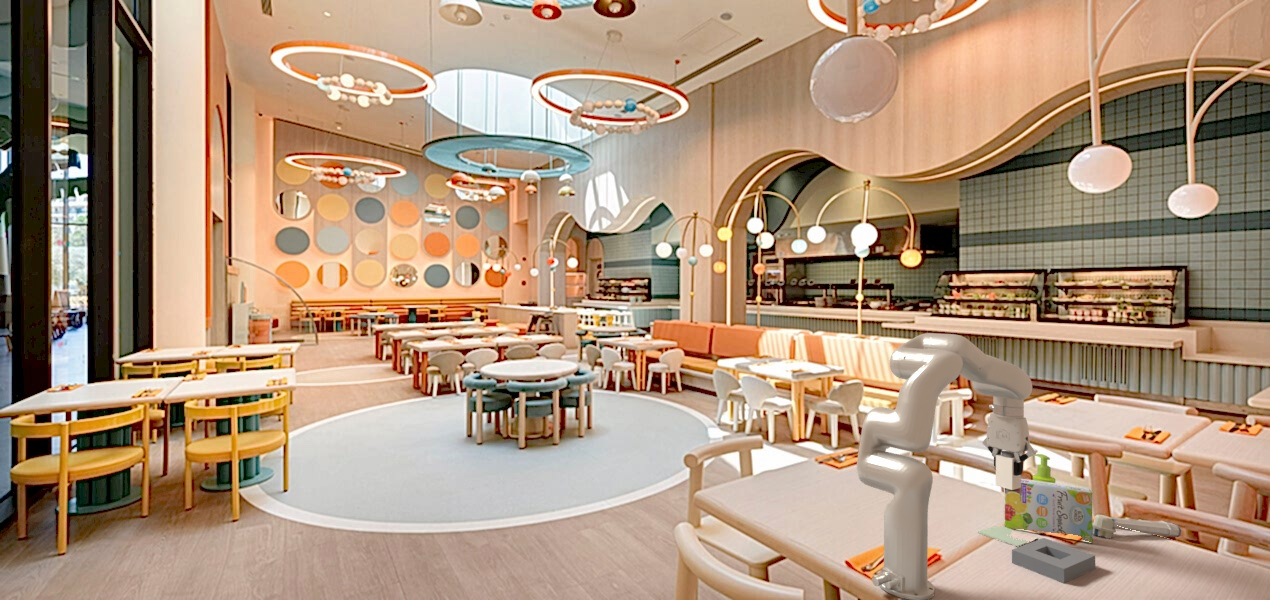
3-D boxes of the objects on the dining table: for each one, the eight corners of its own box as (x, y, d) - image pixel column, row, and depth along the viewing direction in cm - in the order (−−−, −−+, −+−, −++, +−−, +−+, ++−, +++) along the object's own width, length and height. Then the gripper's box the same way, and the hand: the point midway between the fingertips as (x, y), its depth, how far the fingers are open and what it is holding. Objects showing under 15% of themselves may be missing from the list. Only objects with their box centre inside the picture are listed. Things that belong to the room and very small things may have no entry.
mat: (1017, 547, 157) (1017, 545, 157) (978, 532, 166) (978, 531, 166) (1038, 539, 162) (1038, 538, 162) (998, 526, 172) (998, 524, 172)
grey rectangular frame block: (1063, 583, 137) (1064, 569, 137) (1011, 562, 147) (1012, 549, 147) (1095, 568, 144) (1095, 555, 144) (1043, 550, 155) (1043, 537, 155)
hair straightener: (1184, 526, 163) (1101, 515, 163) (1181, 549, 163) (1098, 537, 163) (1167, 519, 168) (1087, 508, 168) (1164, 541, 168) (1084, 530, 168)
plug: (1012, 490, 161) (1012, 455, 161) (995, 485, 165) (995, 451, 165) (1020, 487, 163) (1020, 453, 163) (1004, 483, 167) (1004, 449, 167)
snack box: (1089, 538, 164) (1089, 487, 164) (1092, 545, 159) (1092, 492, 159) (1003, 522, 175) (1003, 474, 175) (1004, 528, 170) (1004, 479, 170)
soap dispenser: (1045, 513, 182) (1045, 453, 182) (1059, 521, 175) (1059, 458, 175) (1026, 512, 183) (1026, 452, 183) (1039, 520, 176) (1040, 458, 176)
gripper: (972, 407, 170) (972, 466, 170) (1033, 417, 155) (1032, 482, 155) (986, 405, 174) (986, 463, 174) (1047, 415, 159) (1046, 478, 159)
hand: (1008, 471), depth 164 cm, fingers closed on plug, 4 cm apart
